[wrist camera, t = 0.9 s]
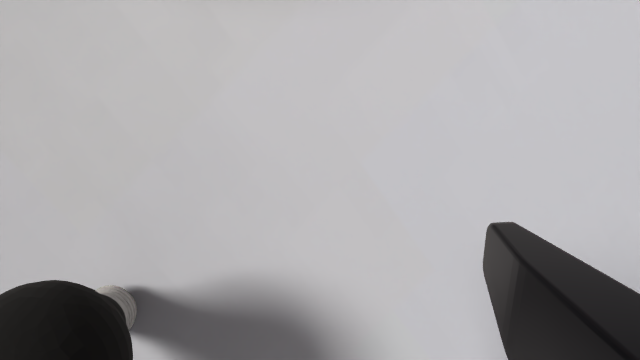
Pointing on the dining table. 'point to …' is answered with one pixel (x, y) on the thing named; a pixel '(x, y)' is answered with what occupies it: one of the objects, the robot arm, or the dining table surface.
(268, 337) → the dining table surface
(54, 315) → the light bulb
